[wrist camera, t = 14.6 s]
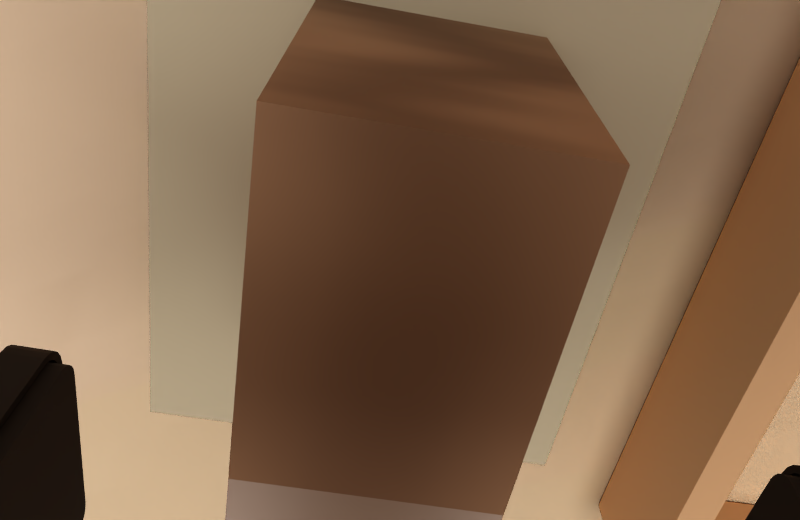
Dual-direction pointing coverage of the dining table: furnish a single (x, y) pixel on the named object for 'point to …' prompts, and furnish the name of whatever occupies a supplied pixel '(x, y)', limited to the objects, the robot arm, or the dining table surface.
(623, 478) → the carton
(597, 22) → the board
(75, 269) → the dining table surface
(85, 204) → the dining table surface
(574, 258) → the walnut box
